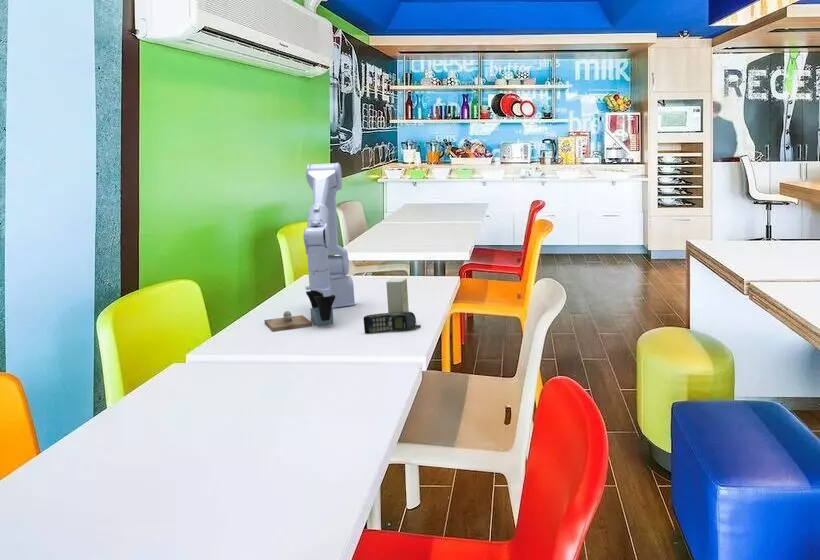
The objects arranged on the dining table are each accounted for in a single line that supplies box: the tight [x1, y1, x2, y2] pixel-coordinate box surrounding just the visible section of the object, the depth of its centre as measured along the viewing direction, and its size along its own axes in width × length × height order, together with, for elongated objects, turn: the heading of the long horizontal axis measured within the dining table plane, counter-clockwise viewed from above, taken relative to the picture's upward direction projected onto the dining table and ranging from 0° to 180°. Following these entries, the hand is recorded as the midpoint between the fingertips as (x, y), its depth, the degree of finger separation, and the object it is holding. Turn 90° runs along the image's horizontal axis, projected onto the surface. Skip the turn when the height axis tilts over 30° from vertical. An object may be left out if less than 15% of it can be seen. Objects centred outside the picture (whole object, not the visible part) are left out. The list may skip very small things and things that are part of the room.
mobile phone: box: [363, 311, 422, 334], centre depth 194 cm, size 5×3×15 cm
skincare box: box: [386, 277, 410, 313], centre depth 201 cm, size 6×4×12 cm
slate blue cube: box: [310, 307, 334, 327], centre depth 207 cm, size 5×5×4 cm
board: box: [264, 310, 313, 332], centre depth 206 cm, size 11×11×4 cm
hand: (321, 317), depth 207 cm, fingers open, 7 cm apart
